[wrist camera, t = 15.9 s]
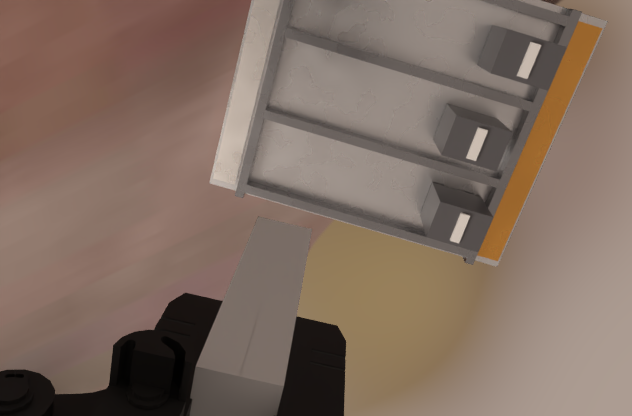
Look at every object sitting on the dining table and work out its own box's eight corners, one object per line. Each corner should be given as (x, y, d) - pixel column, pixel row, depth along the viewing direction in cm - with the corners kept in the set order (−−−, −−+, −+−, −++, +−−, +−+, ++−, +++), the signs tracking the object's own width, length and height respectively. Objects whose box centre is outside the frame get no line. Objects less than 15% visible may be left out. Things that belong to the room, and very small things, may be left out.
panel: (274, -81, 37) (268, -86, 35) (598, 20, 38) (614, 22, 35) (214, 176, 43) (206, 187, 41) (492, 258, 44) (500, 272, 42)
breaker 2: (492, 24, 37) (508, 29, 33) (545, 41, 37) (568, 47, 33) (477, 65, 38) (491, 73, 34) (529, 80, 38) (549, 91, 34)
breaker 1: (432, 182, 41) (440, 202, 37) (480, 196, 41) (494, 218, 37) (419, 215, 42) (426, 238, 38) (467, 229, 42) (479, 253, 38)
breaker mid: (446, 103, 39) (457, 115, 35) (497, 118, 39) (513, 133, 35) (433, 139, 40) (441, 155, 36) (483, 154, 40) (496, 172, 36)
